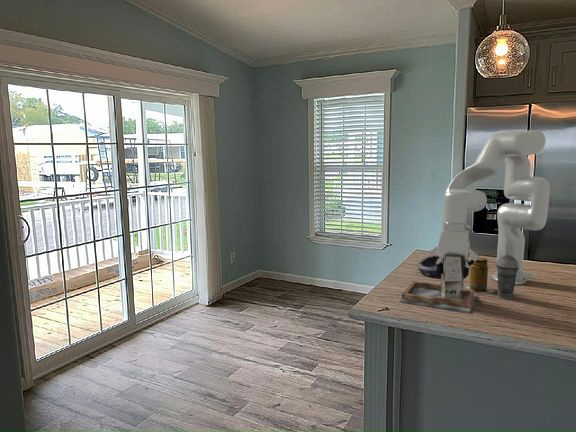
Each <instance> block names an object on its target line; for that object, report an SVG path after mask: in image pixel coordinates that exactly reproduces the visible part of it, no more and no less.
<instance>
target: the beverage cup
mask: <svg viewBox="0 0 576 432" xmlns="http://www.w3.org/2000/svg"><path fill="white" fill-rule="evenodd" d="M496 266H497V267H496ZM495 268H497V279H498V282H497V295H498V296H497V297H498V298H499V299H503V300H512V299H513V295H514V292H515V286H516V285H515V280H516V274H517V271H518V268H519V267H518V262H517V260H516V259H515V258H514V257H512V256H510V255H507V243H505V255H504V256H502V257H500V258H499V259H498V261H497V260H496V265H495Z"/></svg>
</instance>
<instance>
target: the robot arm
mask: <svg viewBox="0 0 576 432" xmlns="http://www.w3.org/2000/svg"><path fill="white" fill-rule="evenodd" d="M545 146H546V136H545V134H544V133H543V131H541V130H538V129H537V130H536V129H533V130H507V131H503V132H502V131H501V132H498V133H497V132H496V133H493V134H491V135H490V136H489V137H488V138H487V139H486V141H485V143H484V145H483V146H482V148H481V150H480V152H479V154H478V156H477V158H476V159H475V161H474V163H473V164H471V165H469V166H468V167H465V169H463V170H461V171H460V172H459V173H458V174H456V175H455V176H454V177H453V178H452V180H451V181H450V182H449V185H448V187H447V189H446V190H445V193H444V196H443V217H442V218H443V219H442V221H443V222H442V229H440V232H439V238H438V245H437V246H436V247H434V248H433V249H431V250H429V251H428V254H429V256H431V257H432V259H433V260H434V261H435V262H436V264H437V272H438V276H440V277H441V274H442V263H441V261H442V260H443V259H444V255H459V256H465V265H464V280H466V279H467V277H469V274H470V273H469V271H470V267H471V265H472V264H473V263H474V262H475V261H476V260H477V259H478V258H480V256H479V255H478V254H477V253H476V252H475V251H473V250H472V249H471V247H470V246H471V245H470V244H471V243H470V233H469V231H468V230H469V229H471V228H472V225H471V224H468V223H467V217H468V216H467V215H468V214H467V213H468V212H479V211H481V210H483V209H484V208H485V207H486V205H487V202H488V198H487V195H486V194H485V192H483V191H482V190H478V189H469V188H468V187H469V186H471V185H473V184H475V183H478V182H482V181H485V180H487V179H490V178H493V177H495V176H496V175H497V174H498V172H499V171H500V168H501V166H502V164H503V162H504V161H505V174H504V175H505V176H504V186H503V194H504V197H505V198H506V199H509V200H514V201H523V202H530V204H524V203H517V202H516V203H515V202H507V203H503V204H501V205H500V206H499V207H498V209H497V211H496V219H497V226H498V227H497V228H498V236H497V237H498V238H497V252H496V254H497V255H496V262H497V261H498V259H499V258H500V257H502V256H504V255H505V243H507V255H510V256H512V257H514V258H515V259H516V260H517V262H518V267H519V268H518V271H517V274H516V280H515V286H516V285H517V286H518V285H524V284H526V283H527V280H528V279H529V280H536V274H532V273H530V272H528V273H527V272H525V271H524V256H525V255H524V253H525V243H526V239H525V235H524V233H523V232H522V229H523V230H528V231H529V230H530V231H540V230H543V229H544V227H545V226H546V223H547V219H548V213H549V205H550V195H551V193H550V192H551V188H550V183H549V181H548V179H547V178H545V177H541V176H531V161H530V159H529V157H528V156H531V155H535V154H538V153H541V151H543V149H544V147H545ZM467 188H468V189H467ZM436 252H437V254H438V257H439V259H438V257H437V256H436V254H435V253H436ZM470 256H471V257H473V258H472V259H470V260H468V258H470ZM496 267H497V266H496V265H495V268H496ZM495 270H496V271H495V273H493V274H492V275H491V280H493V281H495V282H497V283H498V279H497V268H496V269H495Z"/></svg>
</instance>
